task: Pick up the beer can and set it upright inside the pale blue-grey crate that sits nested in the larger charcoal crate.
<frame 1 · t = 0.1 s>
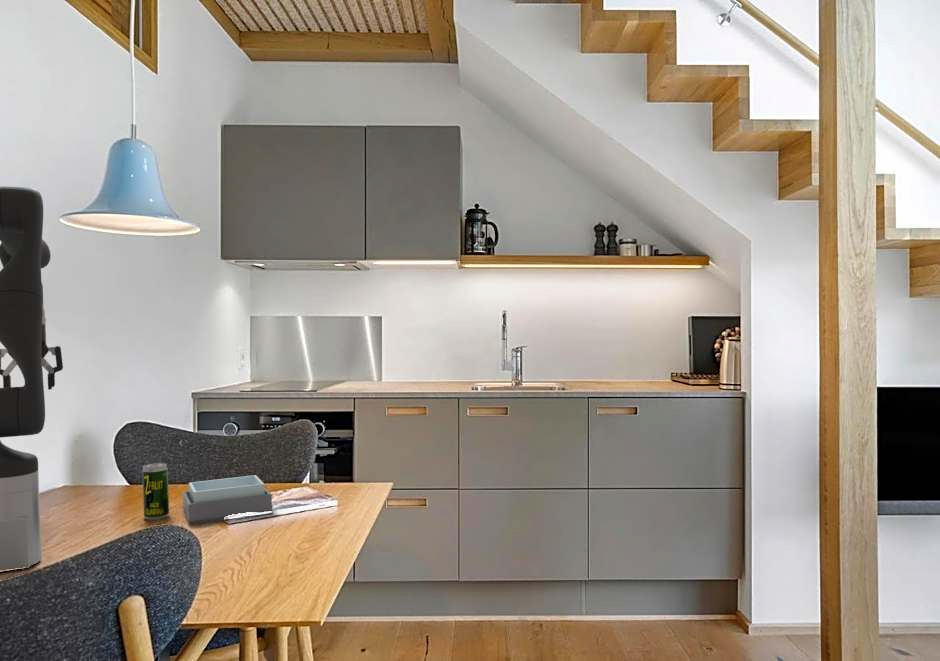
hand: (29, 390, 180), 29 cm above the table, fingers open, 8 cm apart
top crate: (226, 496, 175), in the bottom crate, point 4 cm above the table
beer can: (156, 518, 173), on the table
bottom crate: (227, 512, 175), on the table
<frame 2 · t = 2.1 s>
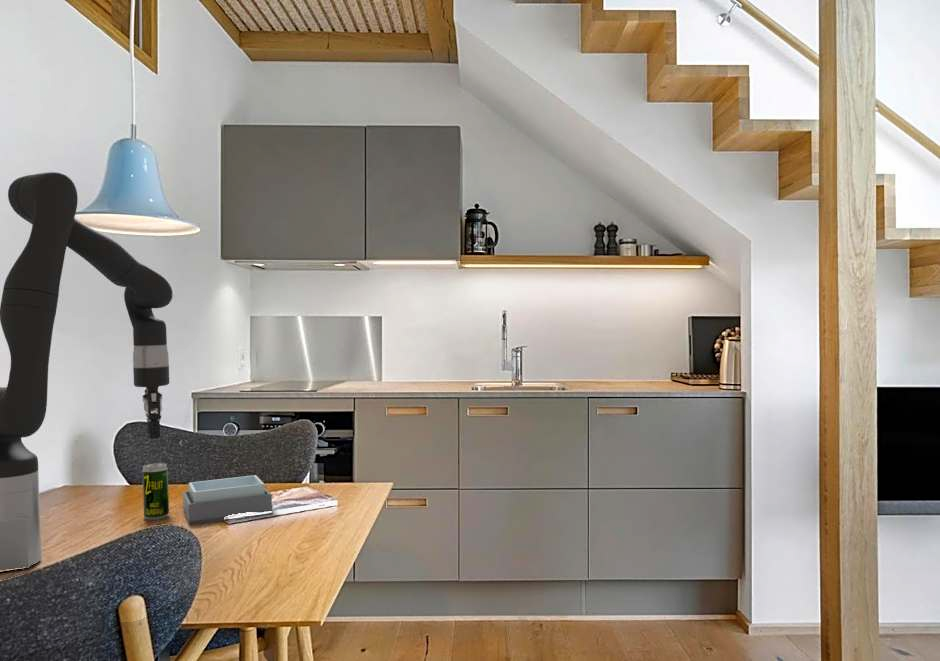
hand: (153, 435, 172), 19 cm above the table, fingers open, 8 cm apart
nothing on the table moved.
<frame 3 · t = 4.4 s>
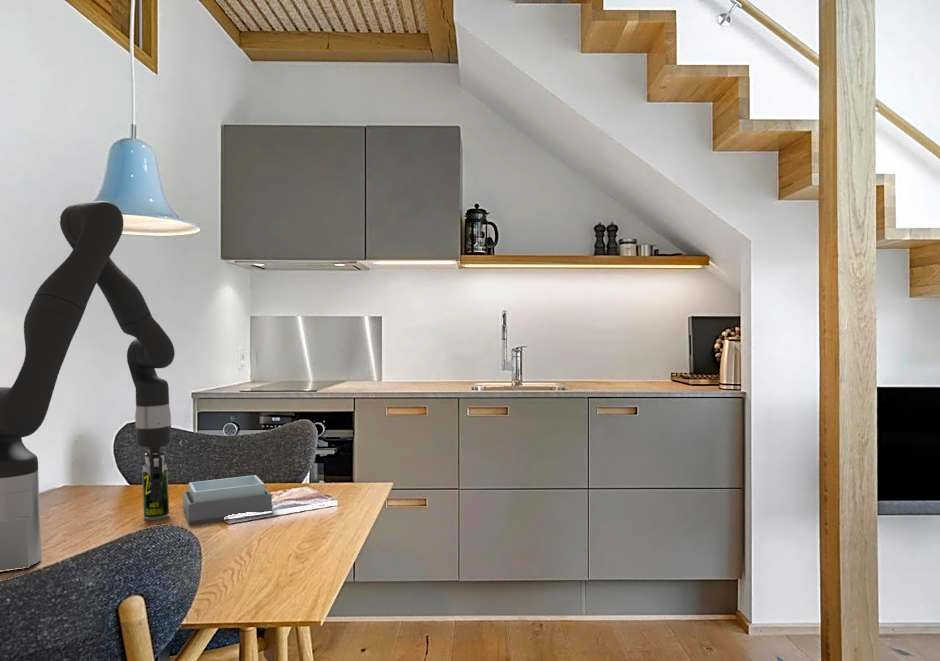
hand: (155, 497, 173), 4 cm above the table, fingers closed on beer can, 5 cm apart
beer can: (156, 518, 173), on the table, touching gripper
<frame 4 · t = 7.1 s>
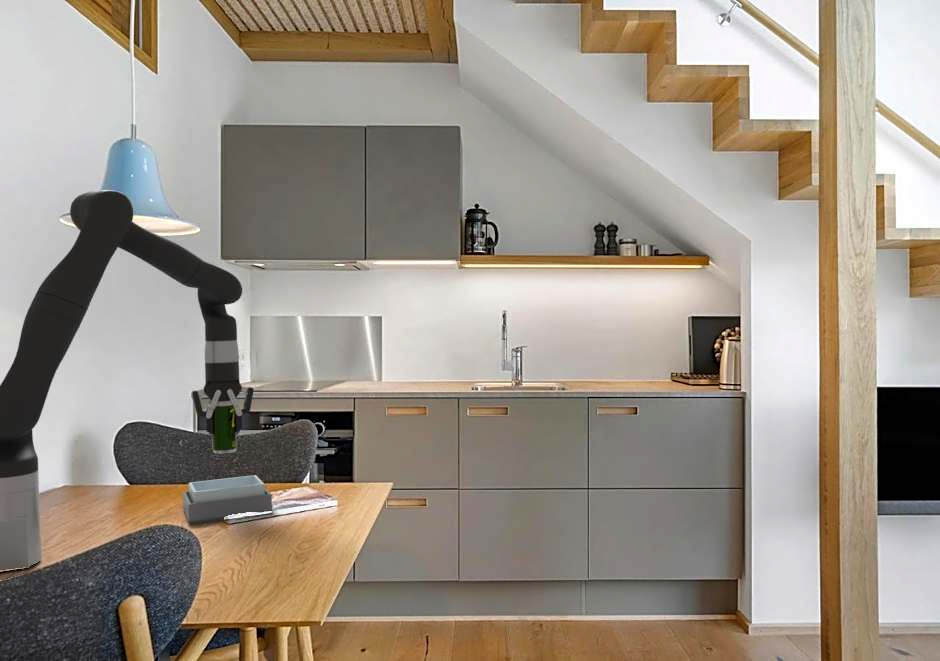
hand: (224, 432, 175), 19 cm above the table, fingers closed on beer can, 5 cm apart
beer can: (224, 452, 175), point 14 cm above the table, touching gripper
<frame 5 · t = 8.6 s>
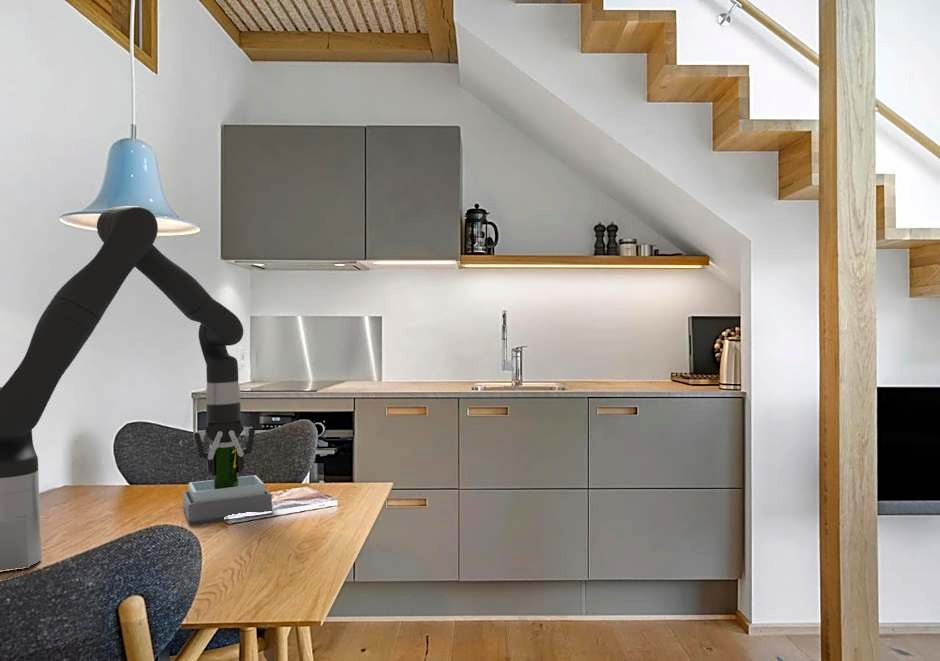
hand: (225, 473, 175), 9 cm above the table, fingers closed on beer can, 5 cm apart
beer can: (226, 493, 175), point 4 cm above the table, touching gripper
when the fingers open (7 cm above the table, at t = 9.9 s): beer can drops 1 cm, resting on top crate.
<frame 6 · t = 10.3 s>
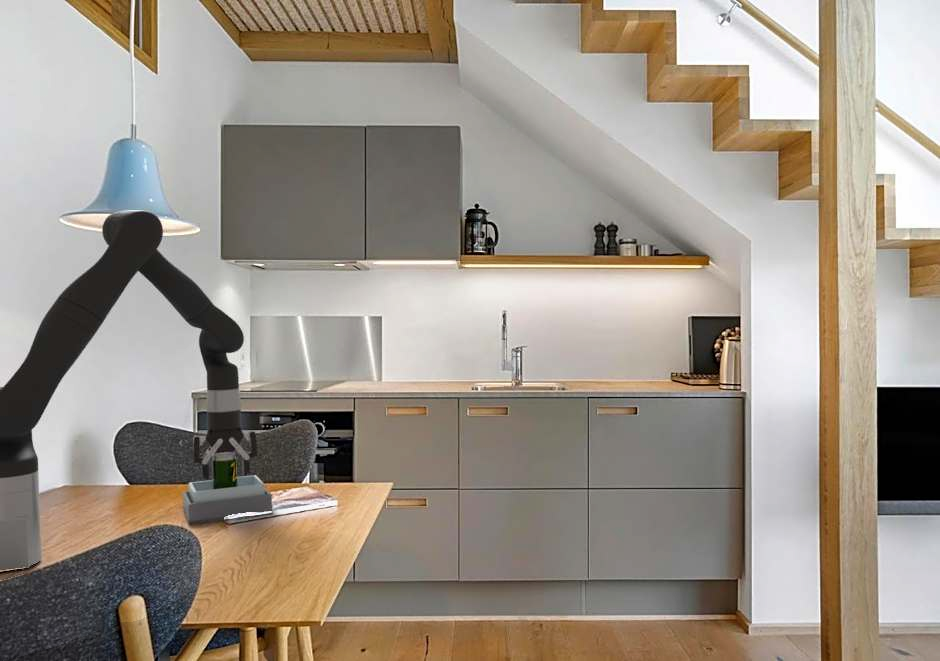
hand: (226, 477, 175), 8 cm above the table, fingers open, 8 cm apart
beer can: (226, 506, 175), point 1 cm above the table, touching top crate
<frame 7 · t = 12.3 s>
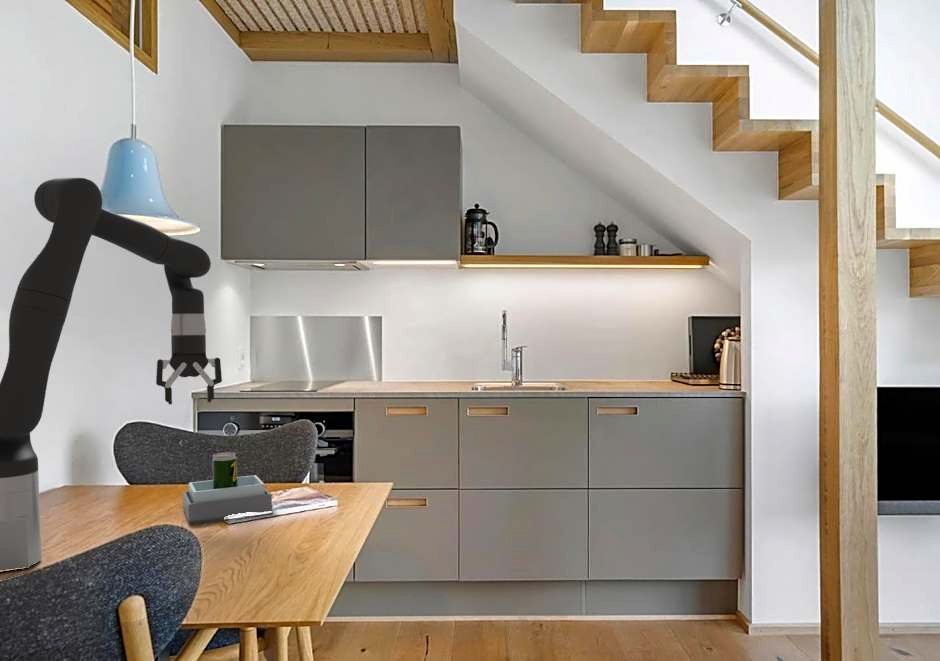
hand: (189, 403, 175), 26 cm above the table, fingers open, 8 cm apart
nothing on the table moved.
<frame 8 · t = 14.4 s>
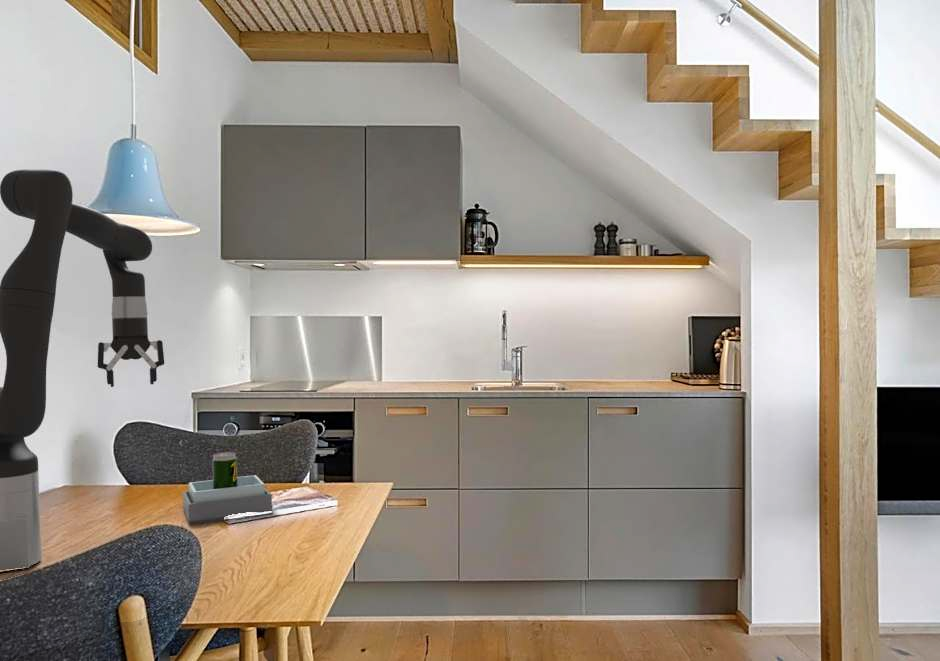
hand: (132, 385, 177), 30 cm above the table, fingers open, 8 cm apart
nothing on the table moved.
at the end: beer can inside the target area on the top crate (0.2 cm from its centre), point 1.4 cm above the top crate's base; beer can tilted 0°; the gripper is holding nothing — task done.
